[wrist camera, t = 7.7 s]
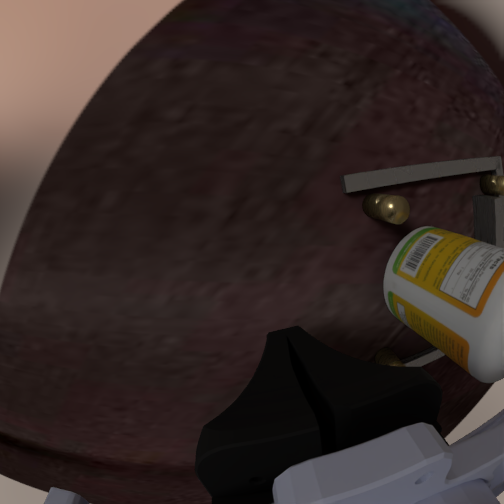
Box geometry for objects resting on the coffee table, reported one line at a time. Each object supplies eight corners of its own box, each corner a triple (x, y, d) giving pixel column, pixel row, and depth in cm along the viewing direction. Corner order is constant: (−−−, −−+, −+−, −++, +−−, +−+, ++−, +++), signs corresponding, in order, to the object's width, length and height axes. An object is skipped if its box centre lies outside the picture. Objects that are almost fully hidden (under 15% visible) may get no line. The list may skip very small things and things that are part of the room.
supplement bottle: (437, 312, 15) (551, 389, 6) (371, 323, 14) (501, 440, 5) (454, 227, 14) (593, 275, 5) (388, 221, 13) (572, 288, 4)
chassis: (494, 323, 16) (514, 336, 14) (361, 384, 16) (376, 408, 14) (495, 156, 13) (522, 156, 11) (339, 175, 13) (361, 174, 11)
